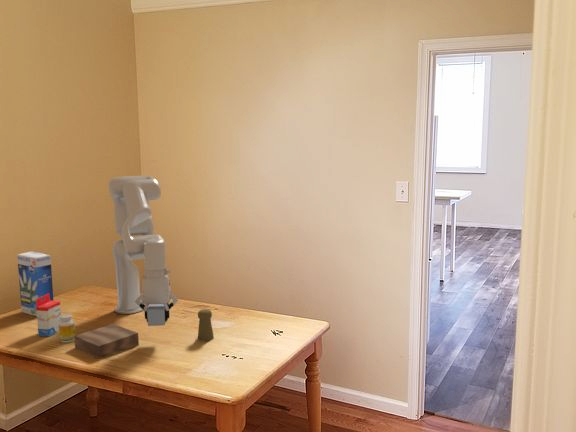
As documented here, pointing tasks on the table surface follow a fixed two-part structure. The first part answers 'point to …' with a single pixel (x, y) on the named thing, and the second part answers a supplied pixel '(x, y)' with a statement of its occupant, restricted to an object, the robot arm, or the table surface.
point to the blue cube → (156, 315)
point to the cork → (205, 325)
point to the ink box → (47, 316)
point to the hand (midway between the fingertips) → (157, 320)
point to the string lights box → (34, 279)
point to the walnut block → (106, 340)
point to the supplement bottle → (66, 328)
